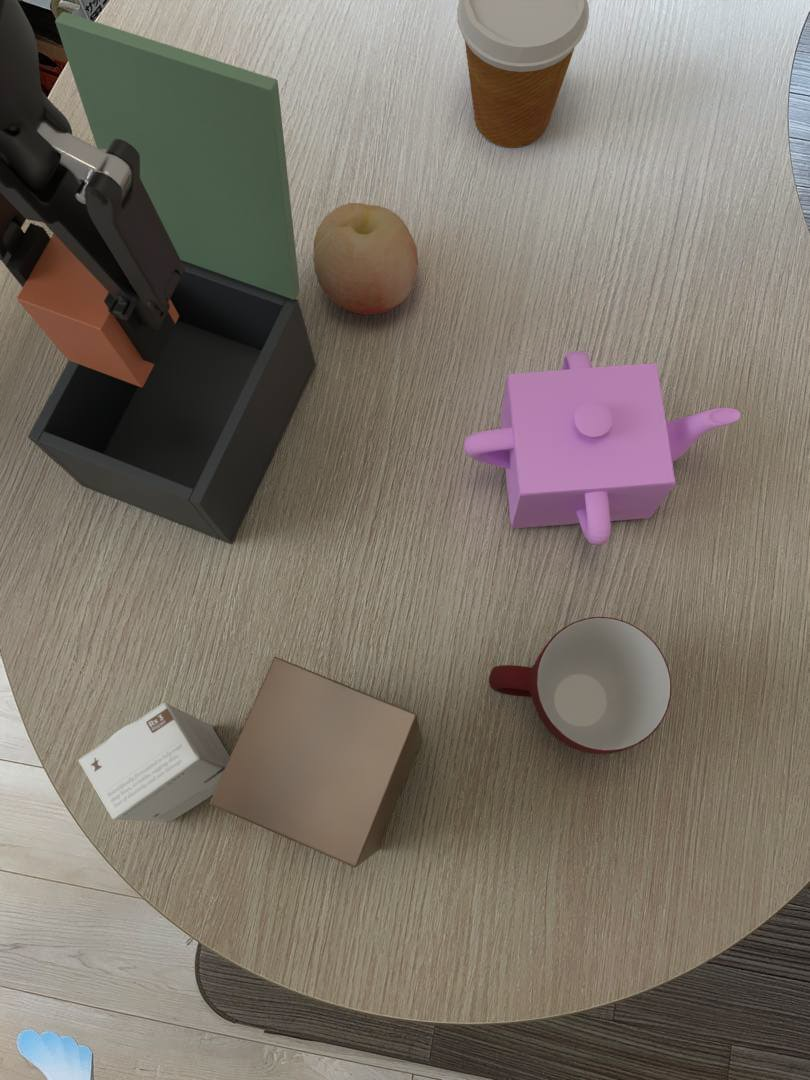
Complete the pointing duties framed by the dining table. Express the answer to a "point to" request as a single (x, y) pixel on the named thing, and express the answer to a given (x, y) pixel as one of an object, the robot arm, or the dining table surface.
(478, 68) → the disposable coffee cup
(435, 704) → the dining table surface
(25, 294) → the block
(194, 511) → the bin
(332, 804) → the stand
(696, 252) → the dining table surface
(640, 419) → the teapot
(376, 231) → the fruit
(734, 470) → the dining table surface
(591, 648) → the mug
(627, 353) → the dining table surface
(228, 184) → the bin lid
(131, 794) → the cosmetic box
